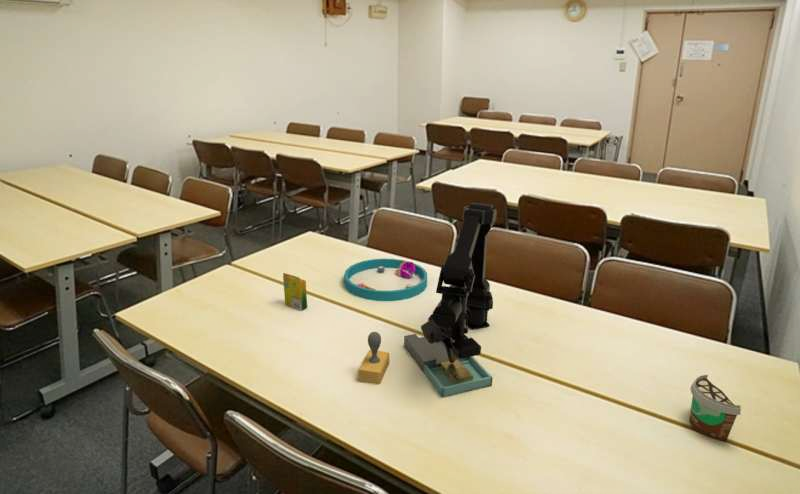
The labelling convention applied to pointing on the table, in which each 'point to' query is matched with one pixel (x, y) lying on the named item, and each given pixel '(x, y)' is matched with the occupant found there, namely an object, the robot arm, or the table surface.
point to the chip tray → (447, 388)
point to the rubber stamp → (374, 361)
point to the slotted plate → (427, 352)
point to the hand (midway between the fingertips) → (451, 362)
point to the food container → (711, 410)
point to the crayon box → (295, 292)
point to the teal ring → (381, 265)
